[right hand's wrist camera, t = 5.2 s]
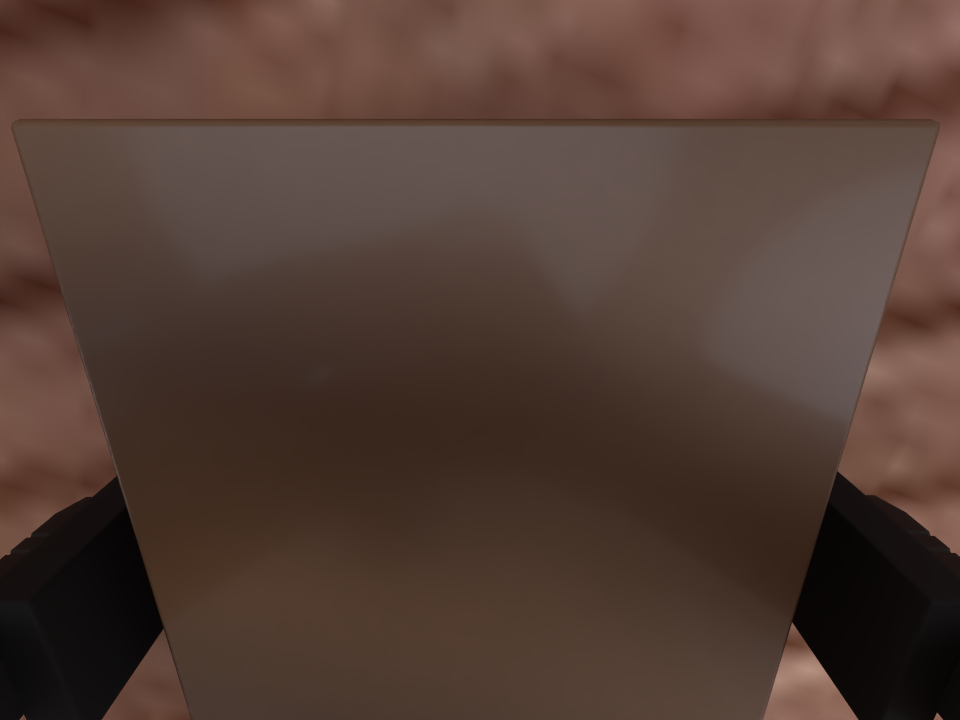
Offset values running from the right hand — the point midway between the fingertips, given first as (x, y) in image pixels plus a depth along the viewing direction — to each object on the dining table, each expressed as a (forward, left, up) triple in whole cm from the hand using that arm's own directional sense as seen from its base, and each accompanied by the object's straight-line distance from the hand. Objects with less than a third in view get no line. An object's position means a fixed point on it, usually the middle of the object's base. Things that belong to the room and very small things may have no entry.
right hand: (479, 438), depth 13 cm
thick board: (+14, -25, -1) cm, 29 cm away
